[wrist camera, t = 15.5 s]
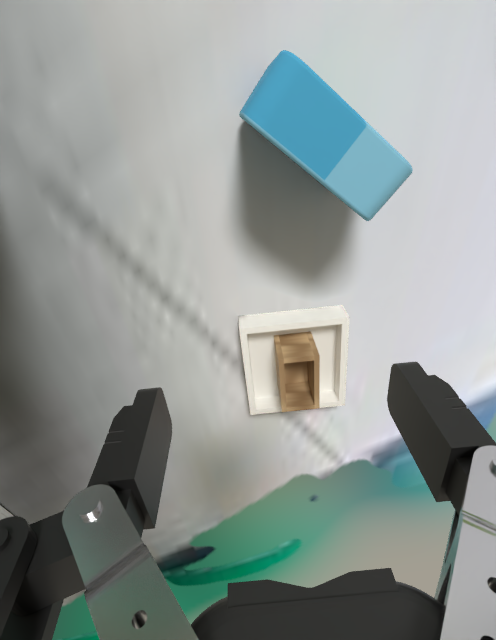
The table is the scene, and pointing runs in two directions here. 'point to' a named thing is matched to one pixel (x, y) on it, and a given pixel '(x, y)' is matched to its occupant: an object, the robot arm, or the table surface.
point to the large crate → (261, 362)
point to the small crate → (297, 371)
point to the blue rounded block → (324, 135)
